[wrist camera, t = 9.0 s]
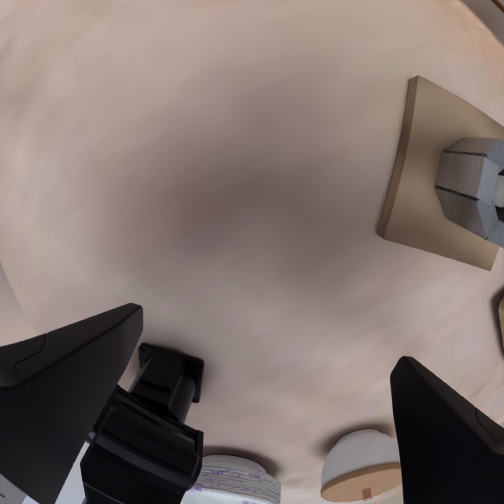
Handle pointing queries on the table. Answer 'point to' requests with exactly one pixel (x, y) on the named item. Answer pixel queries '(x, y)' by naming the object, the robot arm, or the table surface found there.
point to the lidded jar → (361, 467)
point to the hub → (472, 186)
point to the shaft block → (434, 175)
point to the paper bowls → (233, 483)
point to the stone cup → (501, 317)
